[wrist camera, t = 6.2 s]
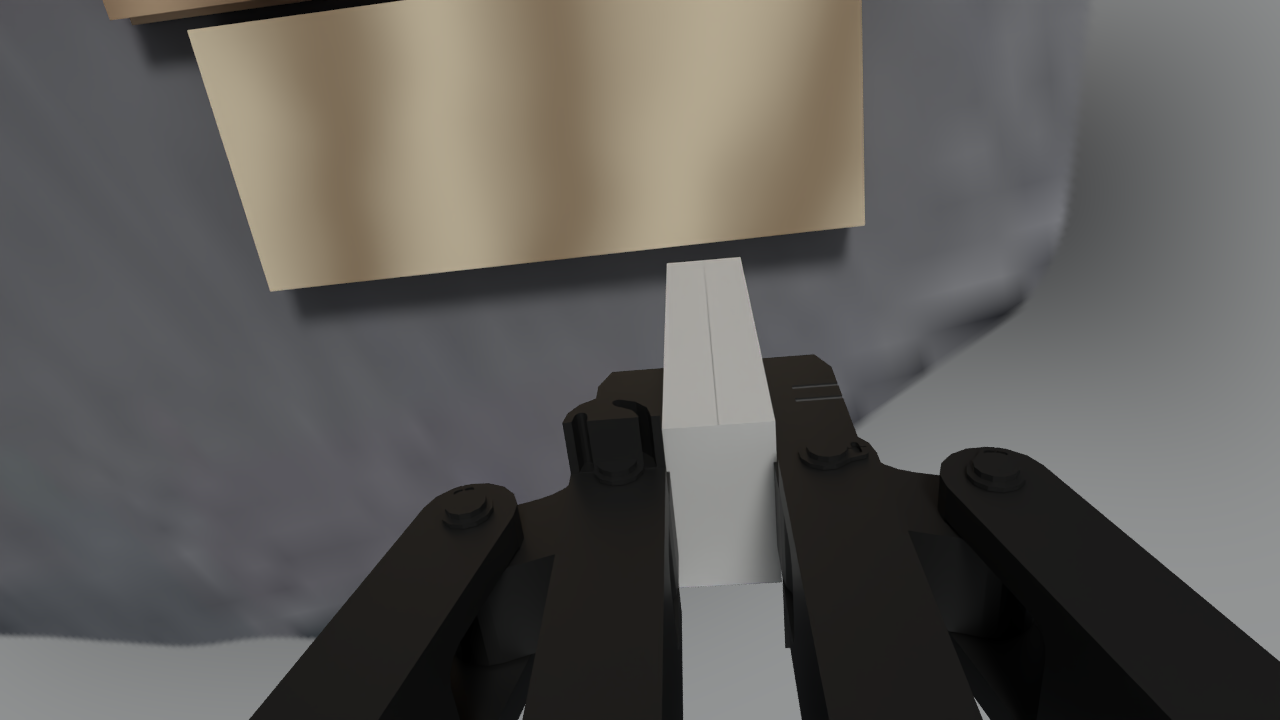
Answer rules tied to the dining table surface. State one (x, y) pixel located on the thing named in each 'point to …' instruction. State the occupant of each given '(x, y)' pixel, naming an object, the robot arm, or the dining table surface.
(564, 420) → the robot arm
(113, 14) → the floorboard
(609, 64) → the plank
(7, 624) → the dining table surface
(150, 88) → the dining table surface
